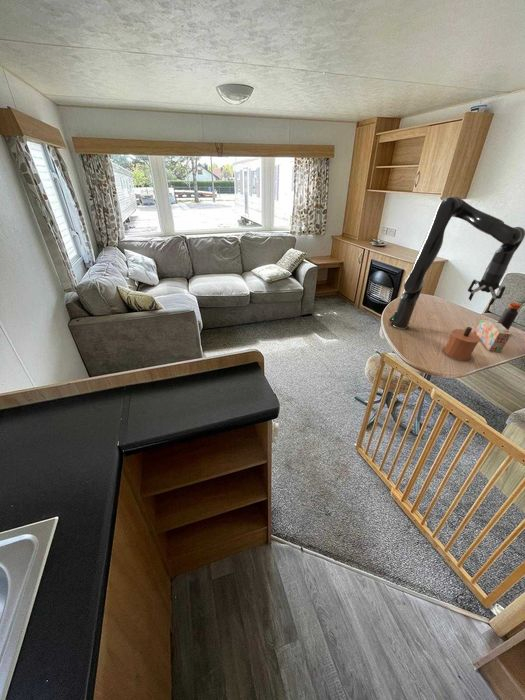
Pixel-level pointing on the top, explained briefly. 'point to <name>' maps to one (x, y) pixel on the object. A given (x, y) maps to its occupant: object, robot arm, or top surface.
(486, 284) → the robot arm
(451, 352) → the pot
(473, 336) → the lid
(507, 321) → the bottle
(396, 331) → the top surface
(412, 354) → the top surface
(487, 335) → the colourful patterned box
